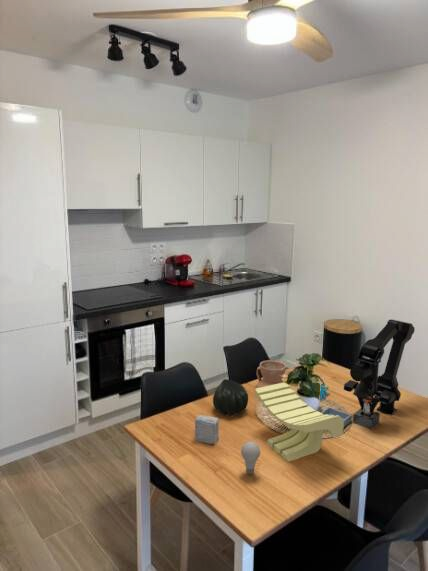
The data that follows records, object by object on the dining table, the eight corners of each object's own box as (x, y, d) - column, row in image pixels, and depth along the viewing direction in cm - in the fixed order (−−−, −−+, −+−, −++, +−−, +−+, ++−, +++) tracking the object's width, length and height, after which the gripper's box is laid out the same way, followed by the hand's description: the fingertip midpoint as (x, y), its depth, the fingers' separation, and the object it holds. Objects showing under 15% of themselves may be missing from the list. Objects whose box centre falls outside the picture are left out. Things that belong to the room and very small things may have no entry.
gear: (312, 398, 189) (306, 377, 195) (305, 403, 193) (300, 382, 199) (333, 398, 193) (327, 377, 198) (326, 403, 197) (320, 382, 203)
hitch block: (360, 416, 177) (361, 407, 176) (379, 422, 172) (379, 413, 171) (353, 422, 171) (353, 413, 171) (371, 429, 166) (372, 420, 166)
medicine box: (218, 439, 158) (219, 417, 157) (214, 445, 154) (215, 423, 153) (199, 435, 161) (199, 414, 159) (194, 441, 157) (194, 419, 155)
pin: (363, 419, 175) (365, 394, 173) (373, 422, 172) (375, 397, 170) (358, 422, 171) (360, 397, 169) (369, 426, 168) (371, 400, 166)
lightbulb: (239, 468, 141) (240, 438, 139) (257, 467, 141) (258, 437, 139) (242, 480, 135) (242, 448, 133) (261, 479, 135) (262, 447, 133)
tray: (328, 413, 179) (328, 406, 178) (351, 421, 172) (351, 414, 172) (316, 422, 171) (316, 415, 171) (339, 431, 165) (340, 424, 164)
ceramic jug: (296, 395, 195) (297, 366, 193) (274, 404, 186) (275, 373, 184) (268, 383, 209) (269, 356, 207) (246, 391, 200) (247, 362, 198)
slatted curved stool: (340, 462, 145) (344, 414, 142) (303, 475, 138) (306, 424, 134) (287, 422, 171) (289, 381, 168) (253, 431, 164) (255, 388, 161)
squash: (259, 403, 175) (243, 370, 181) (231, 415, 167) (215, 380, 172) (243, 414, 186) (228, 383, 191) (215, 426, 177) (201, 392, 182)
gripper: (338, 374, 168) (336, 410, 171) (386, 387, 156) (382, 426, 159) (351, 366, 176) (348, 401, 179) (397, 378, 164) (393, 416, 167)
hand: (367, 411), depth 171 cm, fingers closed on pin, 3 cm apart
